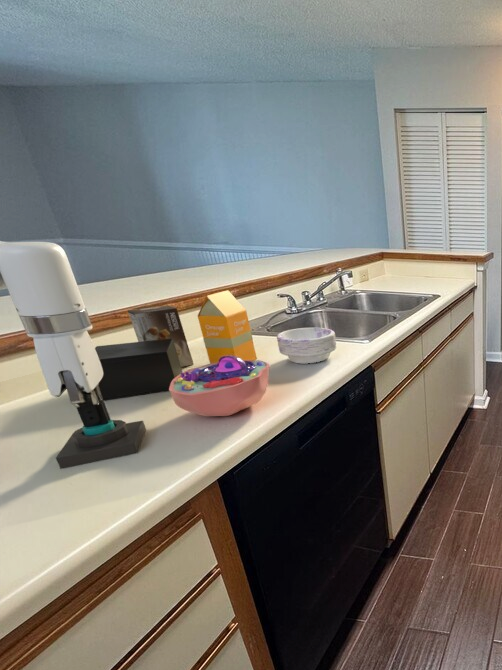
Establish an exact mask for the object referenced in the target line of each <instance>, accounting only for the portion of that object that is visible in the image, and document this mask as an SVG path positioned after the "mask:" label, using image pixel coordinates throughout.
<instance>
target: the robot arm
mask: <svg viewBox="0 0 502 670" xmlns="http://www.w3.org/2000/svg"><path fill="white" fill-rule="evenodd" d="M6 289H7V291H8V294H9V296H10V298H11V301H12V303H13V305H14V308H15V309H16V312H17V315H18V317H19V319H20V322H21V324H22V326H23V328H24V331H25V333H26V335H27V337H29V338H33V339H32V340H33V345H34V349H35V354H36V357H37V360H38V361H37V362H38V363H39V366H40V369H41V373H42V376H43V378H44V380H45V383H46V386H47V389H48V390H49V394H50V395H51V396H52V397H54V398H59V397H60V396H62V395H63V394H64V393H65V392H67V395H68V399H69V401H70V404H71V405H74V407H75V408H76V410H77V412H78V416H79V417H80V420H81V423H82V426H84V427H93V426H99V425H104V424H108V422H109V421H110V419H111V417H110V414H109V411H108V409H107V406H106V402H105V401H103V400H102V395H101V392H100V389H99V386H98V383H99V382H100V380H101V379H102V377H103V369H102V366H101V363H100V360H99V357H98V355H97V352H96V350H95V347H96V346H95V345H94V343H93V341H92V338H91V335H90V334H89V332H88V331H91V330H92V329H93V328H94V327H93V324H92V320H91V319H90V316H89V313H88V310H87V308H86V305H85V302H84V299H83V296H82V295H81V291H80V288H79V286H78V283H77V281H76V278H75V275H74V272H73V270H72V266H71V263H70V261H69V259H68V256H67V253H66V251H65V249H64V248H62V247H61V246H60V245H59V244H58V243H54V242H48V241H11V242H9V241H2V240H0V291H1V290H2V291H3V290H6ZM99 400H101V401H99Z"/></svg>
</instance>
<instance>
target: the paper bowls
mask: <svg viewBox="0 0 502 670" xmlns="http://www.w3.org/2000/svg"><path fill="white" fill-rule="evenodd" d="M276 339H277V346H278V351H279V354H281V355H284V356H286V357H288V359H289V360H290V361H291V362H292V363H295V364H301V365H303V364H304V365H308V363H310V364H316V362H317V363H320V361H321V362H323V361H325V360H327V359H328V358H329V357H330V355H331V353H332V352H334V351H336V350H337V341H336V339H337V338H336V333H335V331H334V330H333V329H331V328H325V327H300V328H293V329H287V330H284V331H282V332H279V333H278V334H276Z"/></svg>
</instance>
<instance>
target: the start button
mask: <svg viewBox="0 0 502 670" xmlns="http://www.w3.org/2000/svg"><path fill="white" fill-rule="evenodd" d="M113 420H114V419H111V418H110V421H109V422H108V424H104V425H99V426H93V427H84V425H82V426H81V428H82V429H83V431H84V434H85V435H95V434H100V433H104V432H107V431H110V430H111V429H113V428H115V426H114V423H113Z"/></svg>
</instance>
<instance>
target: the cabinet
mask: <svg viewBox="0 0 502 670" xmlns="http://www.w3.org/2000/svg"><path fill="white" fill-rule="evenodd" d="M94 347H95V350H96V352H97V355H98V357H99V360H100V363H101V366H102V369H103V377H102V379H101V380H100V382H99V383H98V386H99V389H100V392H101V395H102V400H103V401H104V402H105V401H111V400H117V399H124V398H130V397H138V396H144V395H150V394H159V393H163V392H170V391H169V387H170V384H171V382H172V380H173V379H174V378H175V377H177V376H178V375H180V374H181V373H183V372H184V371H183V369H182V367H181V365H180V362H179V358H178V355H177V352H176V348H175V345H174V342H173V338H171V339H162V340H152V341H142V342H138V341H134V342H124V343H115V344H105V345H96V346H94ZM99 401H101V400H99Z"/></svg>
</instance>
